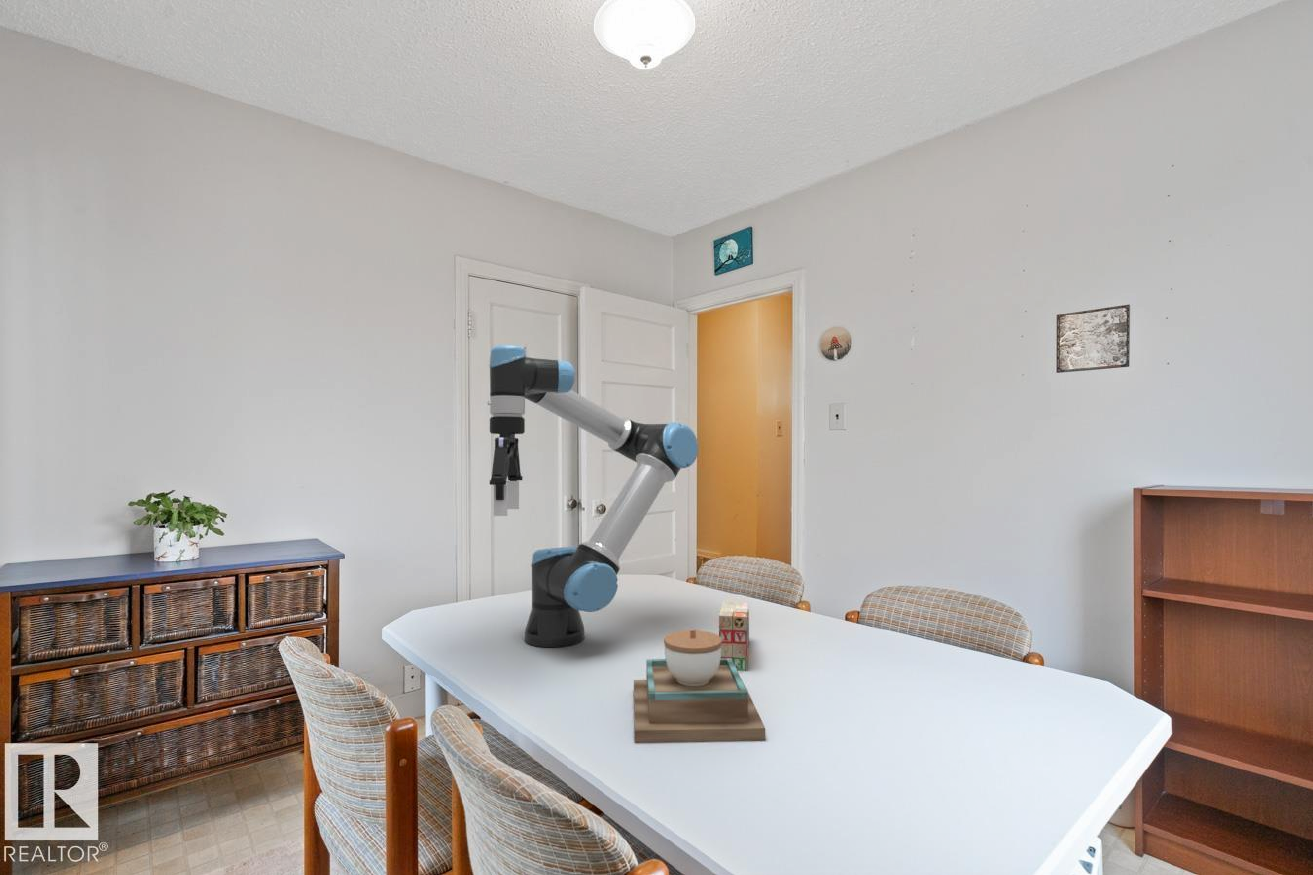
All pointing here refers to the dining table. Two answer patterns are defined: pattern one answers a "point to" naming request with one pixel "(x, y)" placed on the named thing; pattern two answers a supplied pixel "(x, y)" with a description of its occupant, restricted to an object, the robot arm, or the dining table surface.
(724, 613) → the stack of blocks
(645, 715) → the base
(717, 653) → the lidded jar
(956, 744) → the dining table surface
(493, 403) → the robot arm
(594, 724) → the dining table surface
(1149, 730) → the dining table surface
